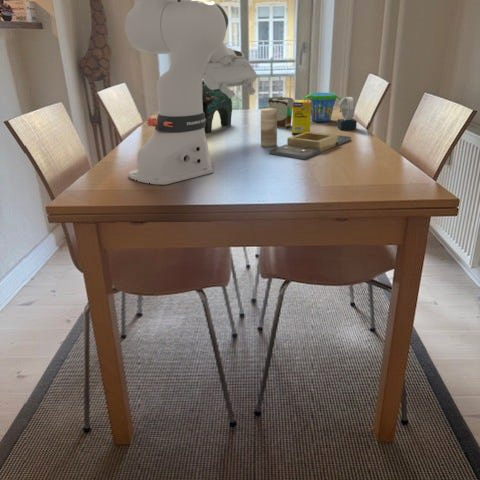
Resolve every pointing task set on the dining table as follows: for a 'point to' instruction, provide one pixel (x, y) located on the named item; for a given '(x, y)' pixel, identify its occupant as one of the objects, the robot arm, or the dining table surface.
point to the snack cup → (322, 106)
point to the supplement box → (301, 116)
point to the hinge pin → (269, 127)
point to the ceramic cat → (215, 106)
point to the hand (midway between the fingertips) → (242, 95)
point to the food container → (282, 110)
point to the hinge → (308, 144)
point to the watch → (347, 114)
